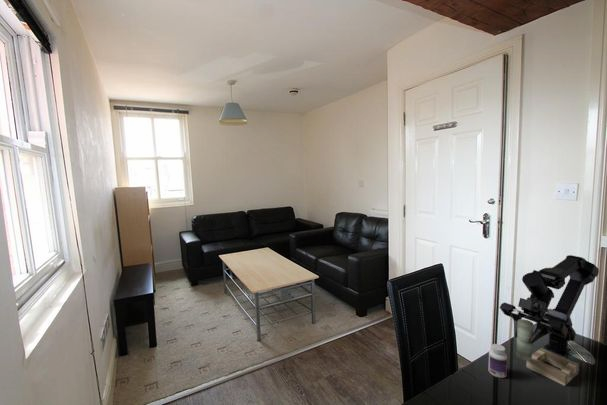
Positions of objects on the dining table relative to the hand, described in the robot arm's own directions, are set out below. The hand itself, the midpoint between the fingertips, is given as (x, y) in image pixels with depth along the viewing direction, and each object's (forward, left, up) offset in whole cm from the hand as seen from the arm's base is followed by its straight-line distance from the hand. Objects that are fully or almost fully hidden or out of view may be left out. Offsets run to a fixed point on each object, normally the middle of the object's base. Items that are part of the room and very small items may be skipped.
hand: (522, 339), depth 102 cm
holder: (-10, +5, -12) cm, 17 cm away
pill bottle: (+7, -5, -13) cm, 15 cm away
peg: (-1, 0, -7) cm, 7 cm away
